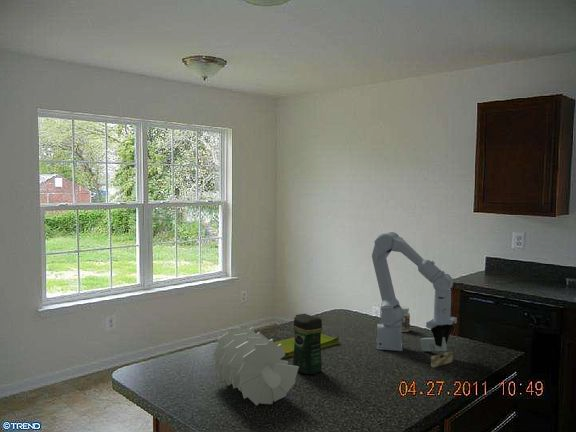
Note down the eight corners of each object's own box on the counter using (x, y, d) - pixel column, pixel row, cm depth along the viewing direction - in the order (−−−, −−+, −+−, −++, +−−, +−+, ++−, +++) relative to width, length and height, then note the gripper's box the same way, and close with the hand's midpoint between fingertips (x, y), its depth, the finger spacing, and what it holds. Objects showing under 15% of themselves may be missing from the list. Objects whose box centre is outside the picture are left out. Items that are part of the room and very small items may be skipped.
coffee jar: (325, 371, 159) (326, 316, 158) (307, 377, 155) (308, 320, 154) (306, 363, 167) (307, 310, 166) (288, 368, 162) (289, 313, 161)
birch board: (433, 367, 164) (433, 357, 164) (430, 366, 165) (431, 356, 165) (452, 361, 170) (452, 352, 170) (449, 360, 171) (449, 351, 171)
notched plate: (422, 351, 181) (419, 338, 181) (426, 350, 182) (423, 338, 183) (443, 351, 172) (440, 338, 173) (447, 350, 174) (444, 337, 174)
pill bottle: (409, 332, 204) (410, 309, 203) (395, 331, 205) (396, 308, 204) (409, 328, 209) (409, 306, 209) (395, 328, 211) (396, 305, 210)
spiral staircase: (259, 426, 131) (221, 388, 152) (308, 387, 138) (266, 356, 160) (234, 373, 125) (199, 341, 146) (287, 335, 133) (246, 311, 154)
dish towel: (241, 352, 179) (241, 344, 178) (314, 335, 200) (315, 327, 200) (265, 365, 166) (265, 356, 166) (340, 345, 188) (340, 337, 188)
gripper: (438, 313, 166) (436, 351, 167) (464, 308, 175) (462, 344, 175) (422, 308, 172) (420, 345, 173) (448, 303, 180) (446, 339, 181)
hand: (440, 344), depth 175 cm, fingers closed on notched plate, 2 cm apart
